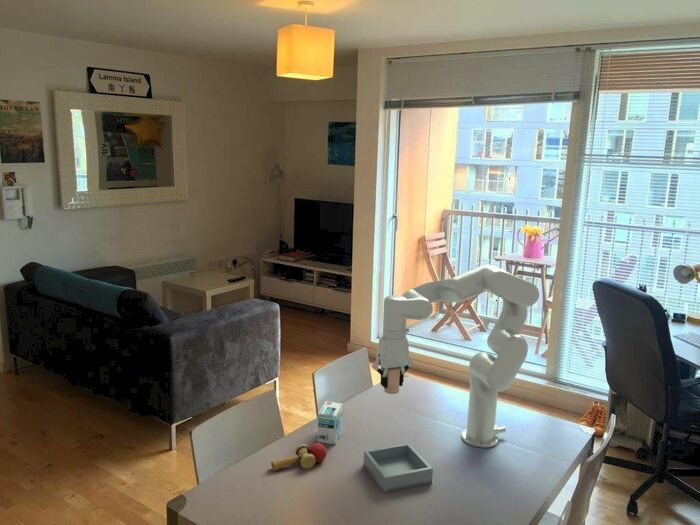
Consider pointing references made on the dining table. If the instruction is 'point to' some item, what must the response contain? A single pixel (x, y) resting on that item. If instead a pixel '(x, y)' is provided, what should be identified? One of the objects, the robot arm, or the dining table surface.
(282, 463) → the kendama
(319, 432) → the light bulb box
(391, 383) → the beige rounded capsule
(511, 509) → the dining table surface
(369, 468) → the bin
